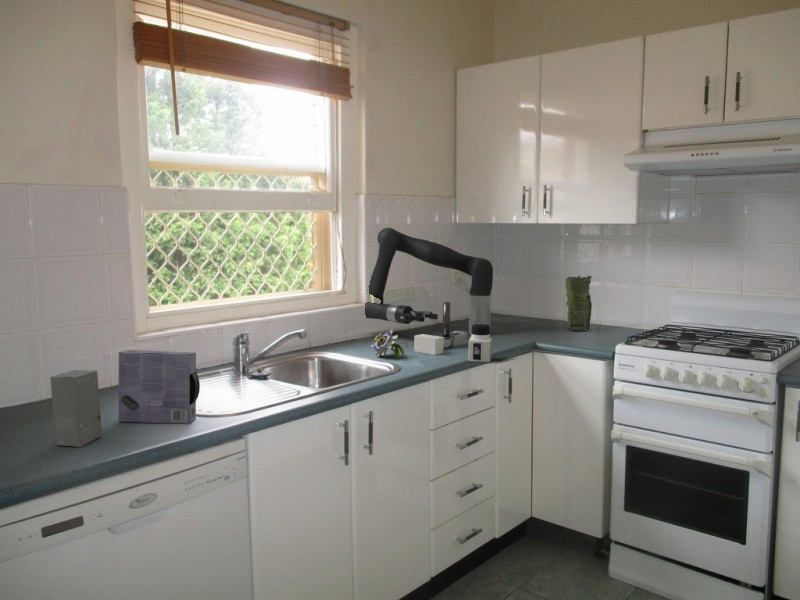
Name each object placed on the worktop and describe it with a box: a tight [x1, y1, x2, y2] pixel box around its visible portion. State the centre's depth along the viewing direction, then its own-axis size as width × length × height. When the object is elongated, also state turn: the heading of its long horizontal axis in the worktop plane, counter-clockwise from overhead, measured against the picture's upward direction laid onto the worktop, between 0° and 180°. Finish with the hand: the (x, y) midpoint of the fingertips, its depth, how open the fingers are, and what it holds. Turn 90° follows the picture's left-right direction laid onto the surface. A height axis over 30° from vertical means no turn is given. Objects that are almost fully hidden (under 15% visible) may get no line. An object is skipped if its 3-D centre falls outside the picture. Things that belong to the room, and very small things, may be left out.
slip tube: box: [441, 301, 453, 349], centre depth 261 cm, size 16×3×17 cm, turn 139°
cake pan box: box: [118, 349, 201, 425], centre depth 165 cm, size 19×5×18 cm, turn 88°
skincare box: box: [49, 369, 103, 448], centre depth 150 cm, size 8×7×16 cm
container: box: [467, 323, 493, 363], centre depth 239 cm, size 8×8×13 cm
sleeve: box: [447, 330, 469, 349], centre depth 265 cm, size 9×5×5 cm, turn 139°
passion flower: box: [370, 329, 409, 360], centre depth 243 cm, size 11×11×12 cm
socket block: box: [413, 333, 444, 356], centre depth 252 cm, size 5×10×6 cm, turn 49°
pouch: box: [565, 275, 593, 331], centre depth 303 cm, size 11×12×25 cm
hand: (430, 318), depth 264 cm, fingers open, 8 cm apart
